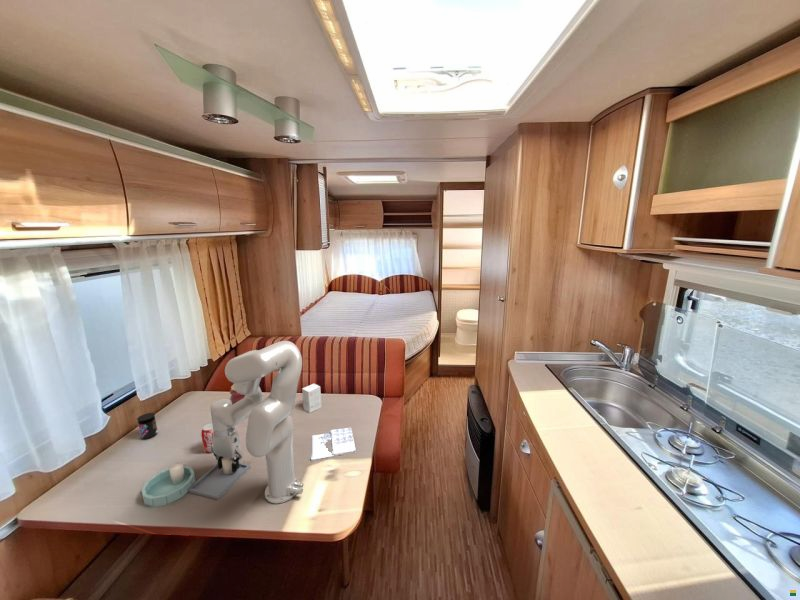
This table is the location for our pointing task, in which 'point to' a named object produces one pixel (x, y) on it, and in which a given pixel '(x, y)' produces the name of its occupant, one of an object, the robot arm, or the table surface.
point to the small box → (311, 398)
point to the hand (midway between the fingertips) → (229, 468)
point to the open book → (340, 443)
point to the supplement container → (147, 426)
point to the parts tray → (217, 481)
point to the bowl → (166, 487)
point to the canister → (235, 395)
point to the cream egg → (177, 473)
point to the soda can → (207, 437)
